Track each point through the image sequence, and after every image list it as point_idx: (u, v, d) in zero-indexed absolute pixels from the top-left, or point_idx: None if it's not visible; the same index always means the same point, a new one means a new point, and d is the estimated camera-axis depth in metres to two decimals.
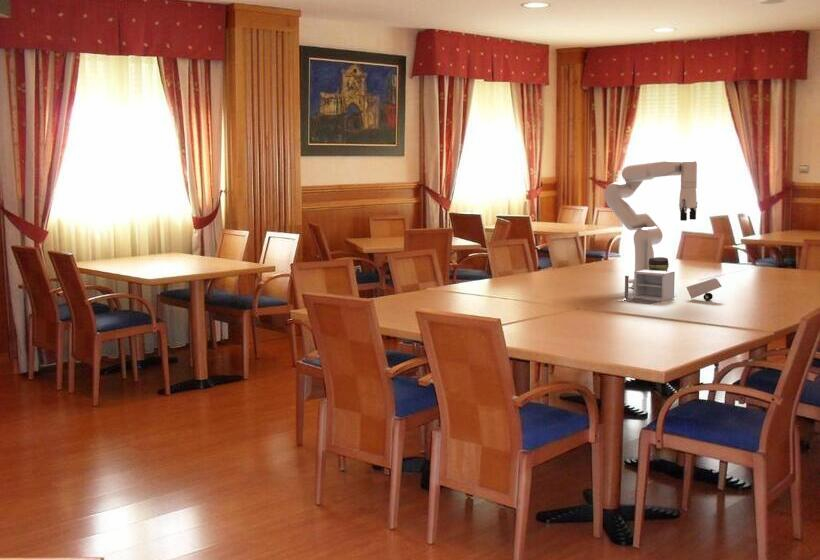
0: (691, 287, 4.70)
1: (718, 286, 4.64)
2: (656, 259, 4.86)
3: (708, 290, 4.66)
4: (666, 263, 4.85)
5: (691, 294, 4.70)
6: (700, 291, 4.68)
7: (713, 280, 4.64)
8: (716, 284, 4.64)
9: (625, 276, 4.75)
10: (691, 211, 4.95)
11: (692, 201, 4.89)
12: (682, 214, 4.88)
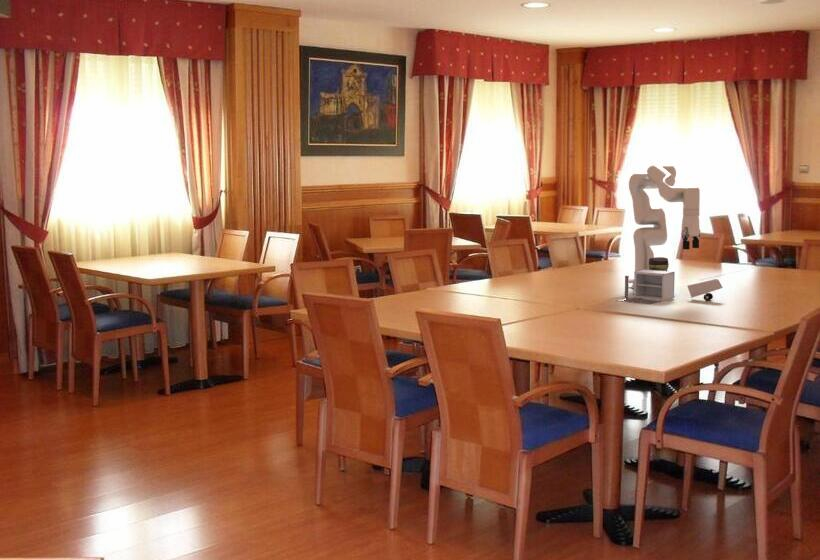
0: (692, 286, 4.70)
1: (719, 287, 4.63)
2: (656, 259, 4.86)
3: (709, 290, 4.66)
4: (666, 263, 4.85)
5: (691, 293, 4.70)
6: (701, 291, 4.68)
7: (714, 281, 4.64)
8: (717, 285, 4.64)
9: (625, 276, 4.75)
10: (694, 239, 4.75)
11: (695, 229, 4.69)
12: (684, 242, 4.67)
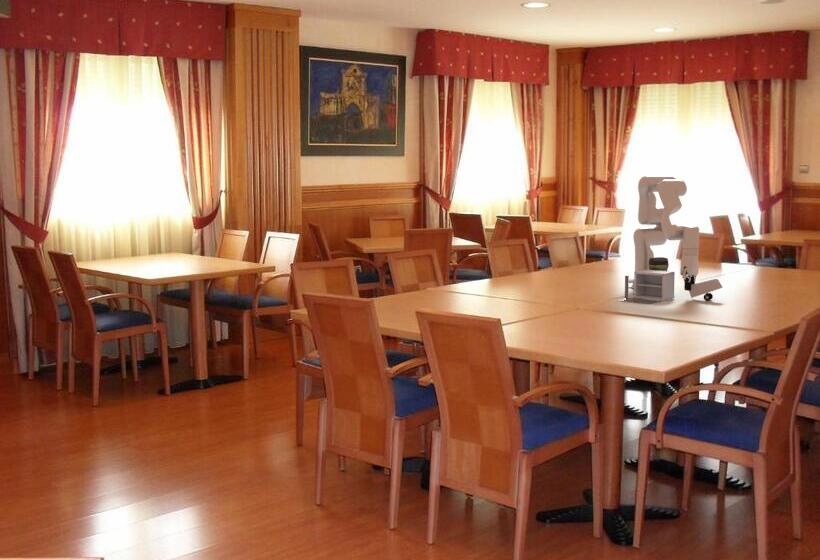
0: (691, 286, 4.70)
1: (719, 287, 4.63)
2: (656, 259, 4.86)
3: (709, 290, 4.66)
4: (666, 263, 4.85)
5: (691, 293, 4.70)
6: (700, 291, 4.68)
7: (714, 281, 4.64)
8: (717, 285, 4.64)
9: (625, 276, 4.75)
10: None
11: (694, 268, 4.69)
12: (686, 284, 4.70)
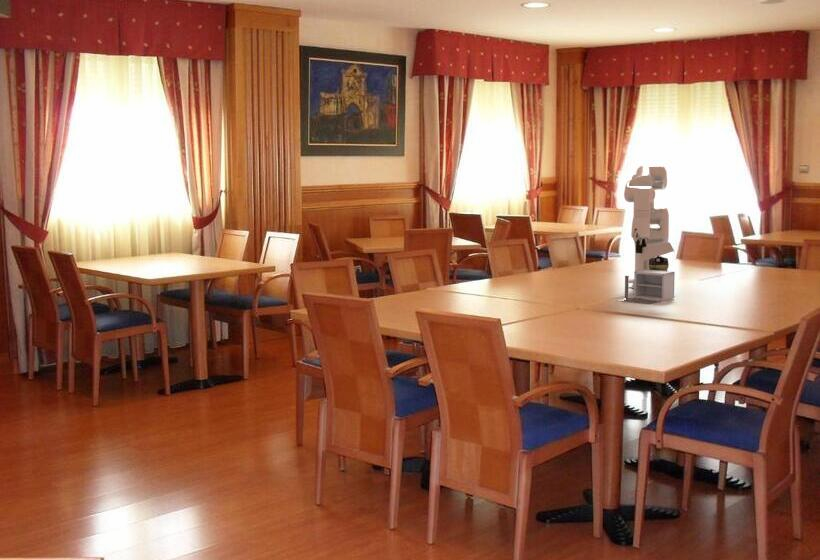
0: (643, 249, 4.63)
1: (670, 250, 4.57)
2: None
3: (660, 253, 4.59)
4: (666, 263, 4.85)
5: (643, 256, 4.63)
6: (652, 253, 4.61)
7: (666, 243, 4.58)
8: (668, 248, 4.57)
9: (625, 276, 4.75)
10: (641, 242, 4.66)
11: (645, 230, 4.62)
12: (637, 246, 4.63)
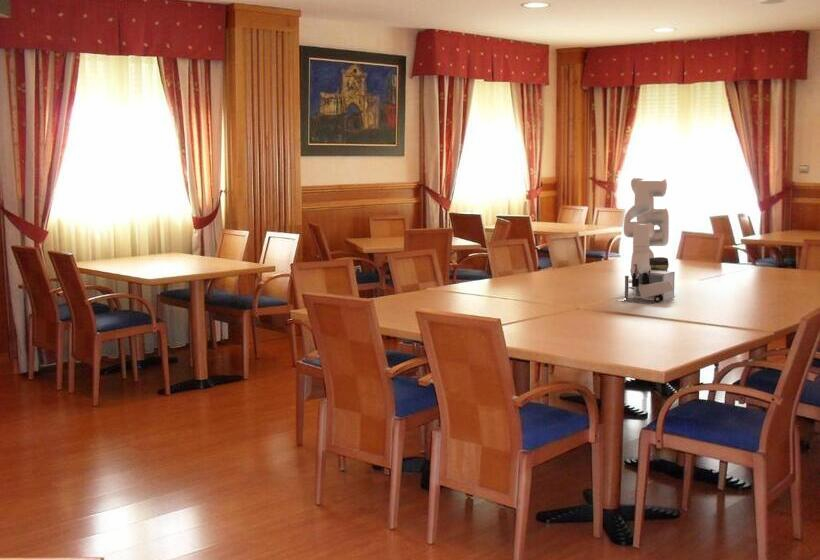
0: (642, 287, 4.65)
1: (670, 289, 4.59)
2: (656, 259, 4.86)
3: (659, 292, 4.62)
4: (666, 263, 4.85)
5: (642, 294, 4.66)
6: (651, 292, 4.63)
7: (665, 283, 4.60)
8: (668, 287, 4.59)
9: (625, 276, 4.75)
10: (644, 276, 4.70)
11: (644, 266, 4.64)
12: (633, 280, 4.63)
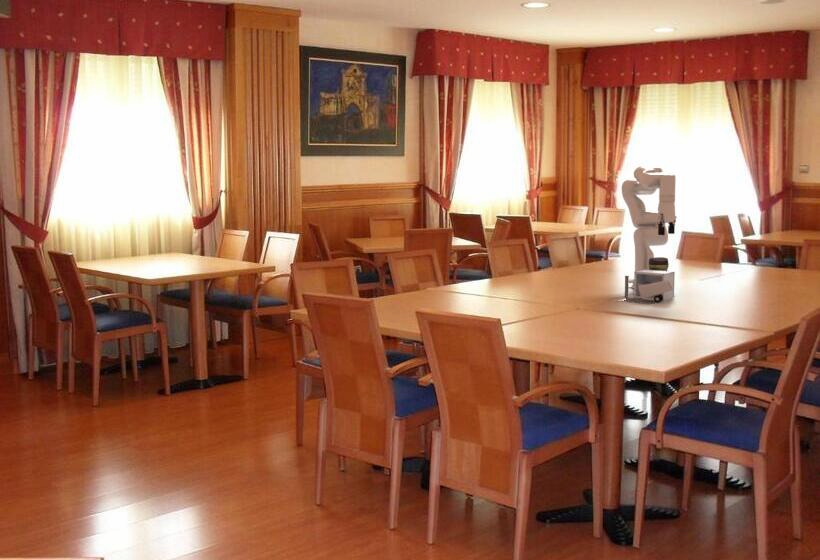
0: (642, 287, 4.65)
1: (669, 289, 4.59)
2: (656, 259, 4.86)
3: (659, 292, 4.62)
4: (666, 263, 4.85)
5: (642, 294, 4.66)
6: (651, 292, 4.64)
7: (665, 283, 4.60)
8: (668, 287, 4.60)
9: (625, 276, 4.75)
10: (670, 225, 4.85)
11: (670, 215, 4.79)
12: (659, 228, 4.77)
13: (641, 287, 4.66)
